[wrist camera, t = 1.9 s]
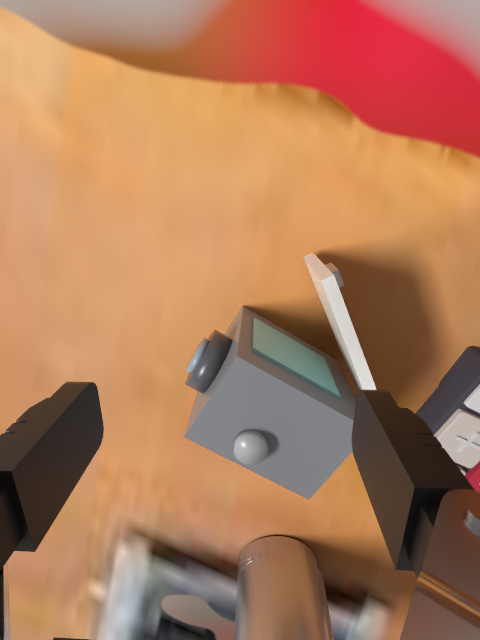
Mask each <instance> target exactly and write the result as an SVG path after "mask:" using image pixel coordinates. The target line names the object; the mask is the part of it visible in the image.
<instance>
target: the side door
mask: <svg viewBox="0 0 480 640" xmlns="http://www.w3.org/2000/svg"><path fill="white" fill-rule="evenodd" d="M304 260H305V262H306V265H307V267H308V270H309V272H310V275H311V277H312V280H313V283H314V285H315V288H316V290H317V293H318V295H319V298H320V300H321V303H322V305H323V308H324V310H325V313H326V315H327V318H328V321H329V323H330V326H331V328H332V331H333V333H334V336H335V338H336V341H337V343H338V346H339V348H340V351H341V353H342V355H343V357H344V358H345V360H346V362H347V364H348V366H349V368H350V370H351V372H352V374H353V375H354V377H355V379H356V381H357V383H358V385H359V387H360V389H361V390H377V389H376V386H375V384H374V381H373V378H372V376H371V373H370V370H369V367H368V365H367V362H366V359H365V357H364V354H363V351H362V349H361V346H360V343H359V341H358V338H357V335H356V333H355V330H354V327H353V324H352V322H351V319H350V316H349V314H348V311H347V308H346V306H345V303H344V300H343V298H342V295H341V292H340V290H339V288H340V287H343V286H344V283H343V281H342V278H341V275H340V272H339V270H338V269H337V268H336V267H335V266H334V265H333V264H332V263H329V264H326V265H324V264H323V263H322V262H321V261H320V260H319V259H318V257H317V256H316V255H315V254H314V253H310V254H308V255H306V256H304Z"/></svg>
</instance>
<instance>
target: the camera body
mask: <svg viewBox="0 0 480 640" xmlns="http://www.w3.org/2000/svg"><path fill="white" fill-rule="evenodd" d="M343 360H344V362H345V364H346V366H347V368H348V370H349V372H350V374H351V376H352V378H353V380H354V382H355V383H356V385H357V387H358V389H359V390H361V389H360V387H359V385H358V383H357V381H356V379H355V377H354V375H353V374H352V372H351V370H350V368H349V366H348V364H347V362H346V360H345V358H343ZM186 371H188V372H190V373H189V375H188V377H187V380H186V383H185V384H186V385H188V386H189V387H191V388H193V389H195V390H197V391H198V392H197V395H196V399H195V402H194V405H193V409H192V412H191V416H190V419H189V422H188V426H187V429H186V432H185V436H184V437H185V438H187V439H189V440H191V441H193V442H195V443H197V444H199V445H201V446H203V447H205V448H207V449H209V450H211V451H213V452H215V453H217V454H219V455H221V456H223V457H225V458H227V459H229V460H231V461H233V462H235V463H237V464H239V465H241V466H243V467H245V468H247V469H249V470H251V471H253V472H255V473H257V474H259V475H261V476H263V477H265V478H267V479H269V480H271V481H273V482H275V483H277V484H279V485H281V486H283V487H285V488H287V489H289V490H291V491H293V492H295V493H297V494H299V495H301V496H303V497H305V498H307V499H310V498H311V497H312V496H313V495H314V494H315V492H316V491H317V490H318V489H319V488H320V487H321V486H322V485H323V484H324V482H325V481H326V480H327V479H328V478H329V477H330V476H331V475H332V473H333V472H334V471H335V470H336V469H337V468H338V467H339V466H340V465H341V463H342V462H343V461H344V460H345V459H346V458H347V457H348V456H349V455H350V453H351V452H352V451H353V450H352V428H353V421H354V414H355V406H356V398H355V396H354V394H353V392H352V389H351V387H350V385H349V383H348V381H347V379H346V377H345V375H344V373H343V371H342V369H341V367H340V365H339V363H338V361H337V359H335V358H333V357H331V356H330V355H328V354H326V353H324V352H323V351H321V350H319V349H317V348H316V347H314V346H312V345H310V344H309V343H307V342H305V341H304V340H302V339H300V338H298V337H297V336H295V335H293V334H291V333H290V332H288V331H286V330H284V329H283V328H281V327H279V326H277V325H276V324H274V323H272V322H270V321H269V320H267V319H265V318H264V317H262V316H260V315H258V314H257V313H255V312H253V311H251V310H250V309H248V308H246V307H244V306H243V307H242V308H241V310H240V311H239V313H238V315H237V316H236V318H235V319H234V321H233V323H232V324H231V326H230V327H229V329H228V331H227V332H226V334H225V335H224V334H222V333H220V332H218V331H216V330H215V331H214V332H213V333H212V334H211V336H210V337H209V339H206V338H203V340H202V341H201V343H200V344H199V346H198V348H197V349H196V351H195V353H194V355H193V356H192V358H191V360H190V362H189V364H188V366H187V369H186Z"/></svg>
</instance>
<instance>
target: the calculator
mask: <svg viewBox="0 0 480 640" xmlns="http://www.w3.org/2000/svg"><path fill="white" fill-rule="evenodd" d="M416 415H417V416H419V417H420V418H421V419H423V420H424V421H425V423H426V424H427V426H428V427H429V428H430V430H431V431H432V432H433V436H436V438H437V439H438V441H439V442H440V443H441V445H442V448H444V449H445V450H446V451H447V453H448V454H449V456H450V457H451V458H452V460H453V461H454V462H455V464H456V465H457V466H458V468H459V469H460V471H461V472H462V473H463V475H464V476H465V477H466V479H467V480H468V481H469V483H470V484H471V486H472V487H473V488H474V490H475V491H478V492H480V349H478V348H476V347H474V346H470V347H468V348H467V349H466V350H465V351H464V352H463V353H462V355H461V356H460V357H459V359H458V360H457V361H456V362H455V364H454V365H453V366H452V367H451V369H450V370H449V371H448V373H447V374H446V375H445V376H444V378H443V379H442V380H441V381H440V384H439V387H438V388H437V389H436V390H435V392H434V393H433V394H432V395H431V396H430V397H429V399H428V400H427V401H426V402H425V403H424V404H423V406H422V407H421V408H420V409H419V410H418V411H417V413H416Z"/></svg>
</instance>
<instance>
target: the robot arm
mask: <svg viewBox="0 0 480 640" xmlns="http://www.w3.org/2000/svg"><path fill="white" fill-rule="evenodd" d="M103 430H104V428H103V420H102V414H101V408H100V401H99V395H98V390H97V386H96V384H95V383H93V382H66V383H65V384H64V385H62V386H61V387H60V388H59V389H58V390H57V391H56V392H55V393H54V394H53V395H52V396H51V397H50V398H46V399H44V400H43V401H41V402H39V403H37V404H36V405H34V406H32V407H30V408H29V409H28V410H27V411H26V412H25V413H24V414H23V415H22V416H20V417H19V418H18V419H17V420H16V423H13V424H12V425H11V426H10V427H9V428H8V429H7V430H6V432H5V433H3V434H2V435H0V640H10V612H9V573H8V567H7V564H6V562H7V560H8V559H9V557H10V556H11V555H12V553H13V552H14V551H30V552H35V551H36V549H37V547H38V546H39V544H40V543H41V541H42V539H43V538H44V536H45V535H46V533H47V531H48V530H49V528H50V526H51V525H52V523H53V522H54V520H55V518H56V517H57V515H58V513H59V512H60V510H61V509H62V507H63V505H64V504H65V502H66V500H67V499H68V497H69V496H70V494H71V492H72V491H73V489H74V488H75V486H76V484H77V483H78V481H79V479H80V478H81V476H82V475H83V473H84V471H85V470H86V468H87V466H88V465H89V463H90V462H91V460H92V458H93V457H94V455H95V454H96V452H97V450H98V449H99V447H100V445H101V442H102V438H103ZM352 450H353V455H354V458H355V461H356V463H357V466H358V469H359V472H360V474H361V477H362V480H363V482H364V485H365V488H366V491H367V493H368V496H369V499H370V501H371V504H372V507H373V509H374V512H375V515H376V518H377V520H378V523H379V526H380V528H381V531H382V534H383V537H384V539H385V542H386V545H387V547H388V550H389V553H390V556H391V558H392V561H393V564H394V566H395V569H396V570H409V571H414V572H415V574H416V577H417V583H416V586H415V589H414V593H413V596H412V600H411V603H410V606H409V610H408V613H407V616H406V620H405V623H404V627H403V630H402V633H401V637H400V640H480V492H478V491H475V490H474V488H473V487H472V486H471V484H470V483H469V481H468V480H467V479H466V477H465V476H464V475H463V473H462V472H461V471H460V469H459V468H458V466H457V465H456V464H455V462H454V461H453V460H452V458H451V457H450V456H449V454H448V453H447V451H446V450H445V449H444V448H442V445H441V443H440V442H439V441H438V439H437V438H436V436H433V432H432V431H431V430H430V428H429V427H428V426H427V424H426V423H425V421H424V420H423V419H421V418H420V417H419V416H417V415H416V414H414V413H413V412H412V411H410V410H409V409H408V408H399V407H398V405H397V404H396V402H395V401H394V399H393V398H392V396H391V395H390V393H389V392H388V391H387V390H359V391H358V394H357V399H356V406H355V414H354V421H353V428H352ZM53 640H88V639H70V638H54V639H53ZM235 640H334V639H333V633H332V627H331V621H330V616H329V610H328V604H327V598H326V592H325V587H324V581H323V575H322V572H321V571H320V570H319V569H318V567H317V561H316V558H315V555H314V553H313V552H312V550H311V549H310V548H309V547H308V546H306V545H305V544H304V543H302V542H300V541H298V540H295V539H292V538H289V537H283V536H271V537H264V538H261V539H258V540H256V541H254V542H252V543H250V544H249V545H248V546H246V547H245V548H244V550H243V551H242V552H241V554H240V557H239V564H238V583H237V600H236V621H235Z"/></svg>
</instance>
